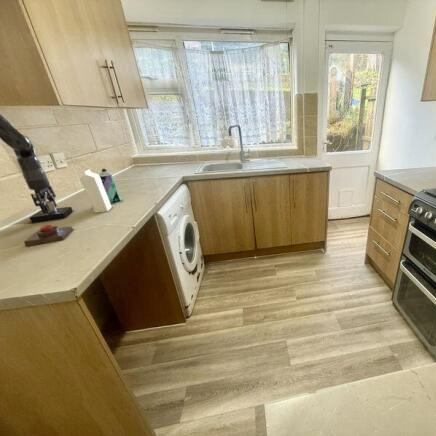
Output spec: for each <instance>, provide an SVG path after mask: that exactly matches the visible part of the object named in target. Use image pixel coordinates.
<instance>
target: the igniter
mask: <svg viewBox="0 0 436 436" xmlns="http://www.w3.org/2000/svg"><path fill="white" fill-rule="evenodd" d="M52 227H53V230H50V231H47V232H41V230H40V229H38V230H37V231H35V232H34V233H33V234H32V235H30V236H29V237H28V238H26V239H25V240H24V241H23V243H24V245H25V247H26V248H27V247H32V246H38V245H39V246H40V245H45V244H50V243H56V242H61V241H65V239H66V238H67V237H68V236H69V235H70V234H71V233H72V232H73V231H74V229H73V227H72V226H63V227H58V226H54V225H52Z"/></svg>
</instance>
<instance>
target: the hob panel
mask: <svg viewBox="0 0 436 436" xmlns="http://www.w3.org/2000/svg"><path fill="white" fill-rule="evenodd" d="M56 209H57V211H56V212H53V213H43V212H42V210H41V209H40V210H39V211H37V212H35V213H34V214H33V215H31V216H29V220H30V221H31V223H32V224H36V223H42V222H43V223H44V222H51V221H58V220H64V219H66V218H68V217H69V216H70V215H71V214H72V213H73V212H74V210H73V208H72V206H64V207H56Z"/></svg>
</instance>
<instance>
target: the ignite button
mask: <svg viewBox="0 0 436 436" xmlns="http://www.w3.org/2000/svg"><path fill="white" fill-rule="evenodd" d="M52 226H53V225H52V224H46V225H42V226H40V227H39V230H41V232H47V231H50V230H53V227H52Z"/></svg>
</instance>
